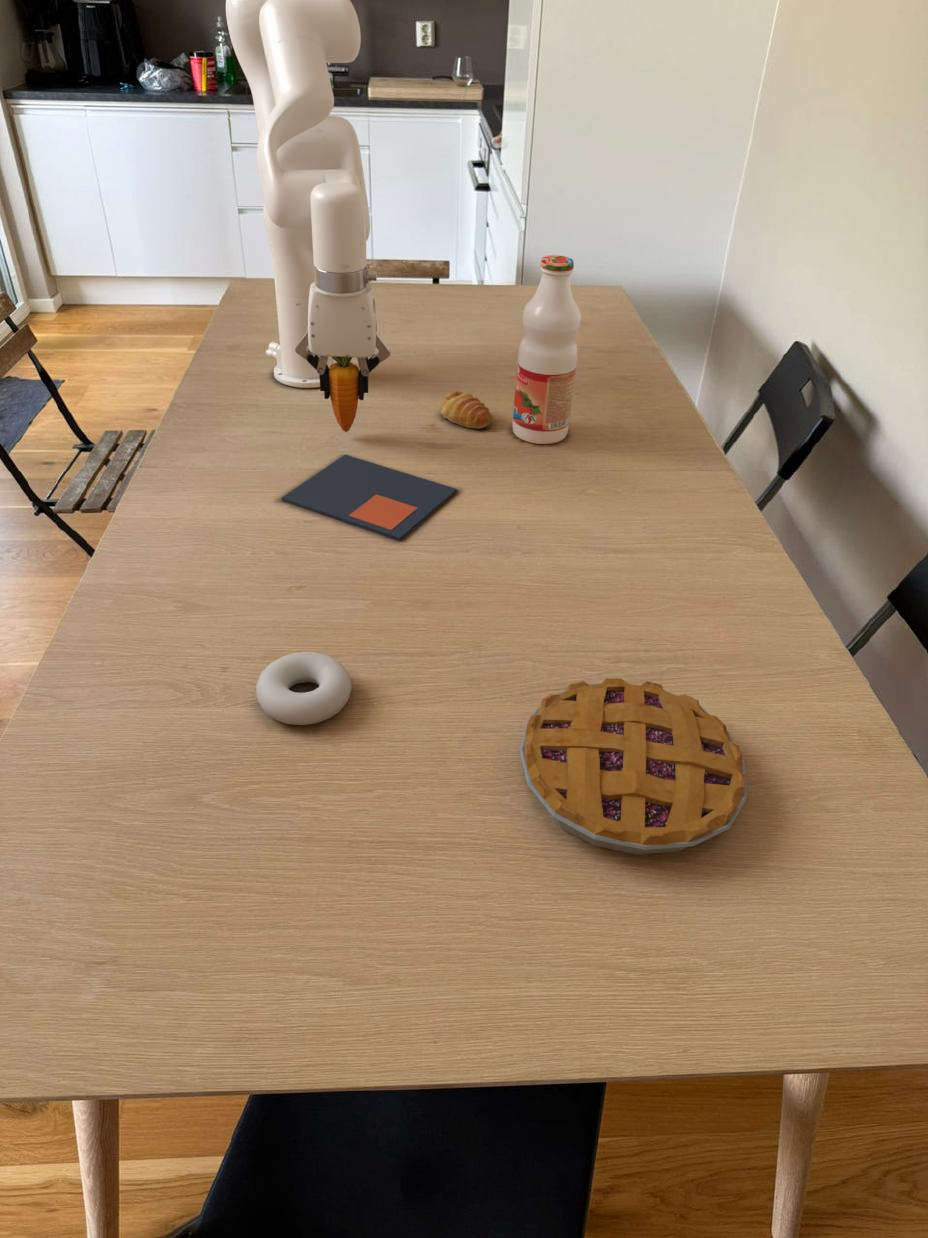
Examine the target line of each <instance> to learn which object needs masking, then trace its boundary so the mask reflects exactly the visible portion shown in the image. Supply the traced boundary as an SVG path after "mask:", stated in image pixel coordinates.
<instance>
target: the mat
mask: <svg viewBox="0 0 928 1238" xmlns="http://www.w3.org/2000/svg"><path fill="white" fill-rule="evenodd" d="M457 492H458V489H457V488H456V487H452V486H448V485H445V484H442V483H439V482H435V481H432V480H429V479H427V478H426V479H425V478H423V477H419V476H416V475H413V474H410V473H407V472H404V471H401V470H397V469H393V468H390V467H387V466H384V465H381V464H377V463H374V462H371V461H368V460H365V459H361V458H357V457H355V456H351V455H348V454H344V455H342V456H340V457H339V458H337V459H336V460H334V461H333V462H332V463H331V464H329V465H328V466H326V467H325V468H323V469H321V470H320V471H319V472H317V473H315V474H314V475H313V476H311V477H310V478H308V479H307V480H306V481H304V482H303V483H301V484H300V485H298V486H296V487H295V488H293V489H292V490H290V491H289V492H288V493H286V494H285V495H283V496H281V498H280V499H281V501H282V502H285V503H288V504H291V505H293V506H296V507H300V508H303V509H306V510H308V511H310V512H311V511H312V512H314V513H317V514H321V515H323V516H326V517H329V518H332V519H335V520H338V521H341V522H344V523H346V524H349V525H352V526H356V527H359V528H361V529H364V530H368V531H370V532H373V533H376V534H379V535H381V536H384V537H388V538H391V539H392V540H393V539H394V540H396V541H399V542H400V541H402V539H404V538H406V536H407V535H408V534H409V533H411V532H412V531H413V530H414V529H416V528H417V527H418V526H419V525H421V523H422V522H423V521H425V520H426V519H427V518H428V517H429V516H431V514H433V513H434V512H435V511H436V510H438V509H439V508H440V507H441V506H442V505H444V503H446V502H447V501H448V500H449V499H450V498H452V497H453V496H454V495H455V494H456V493H457Z"/></svg>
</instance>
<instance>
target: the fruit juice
mask: <svg viewBox="0 0 928 1238" xmlns="http://www.w3.org/2000/svg"><path fill="white" fill-rule="evenodd" d="M539 267H540V271H541V278H540V280H539V285H538V287H537V289H536V292H535V294H534V295H533V297H531V299H530V300H529V301H528V302H527V303H526V304H525V306H524V308H523V312H522V315H521V325H522V326H521V327H522V331H523V335H522V339H521V341H520V343H519V348H518V353H517V361H516V363H517V364H516V374H515V375H516V376H515V386H514V387H515V388H514V396H513V397H514V399H513V411H512V421H511V422H512V423H511V425H512V432H513V434H514V436H516V437H517V438H519V439H520V440H522V441H524V442H527V443H530V444H531V443H532V444H537V445H551V444H556V443H559V442H561V441H563V440H564V439H566V437H567V435H568V431H569V428H570V419H571V411H572V403H573V396H574V388H575V381H576V380H575V378H576V372H577V364H578V344H577V342H576V340H577V336H578V333H579V331H580V328H581V324H582V314H581V310H580V308H579V306H578V304H577V302H576V301H575V300H574V297H573V293H572V288H571V287H572V286H571V274H573V272H574V268H575V262H574V259H573V258H571V257H569V256H565V255H557V254H553V255H552V254H551V255H545V256H542V258H541V260H540V266H539Z"/></svg>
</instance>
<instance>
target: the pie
mask: <svg viewBox="0 0 928 1238" xmlns="http://www.w3.org/2000/svg"><path fill="white" fill-rule="evenodd" d="M519 755H520V758H521V764H522V768H523V771H524V775H525V779H526V784H527V786H528V787H529V788H530V790H531V791H532V792H533V794H534V795H535V796H536V797H537V799H538V800H539V801H540V803H541V804H542V805H543V807H544V808H545V809H546V810H547V811H548V812H549V814H550V815H551V817H552V818H553V819H554V821H555V822H556V823H557V824H558V826H559V827H560V829H561V830H563V831H565V832H567V833H569V834H571V835H572V836H574V837H576V838H578V839H580V840H582V841H584V842H586V843H588V844H590V845H592V846H594V847H598V848H602V849H608V850H612V851H618V852H622V853H627V854H631V855H637V856H638V855H641V856H642V855H653V854H663V853H664V854H665V853H675V852H676V853H677V852H681V851H683V850H685V849H687V848H690V847H694V846H696V845H699V844H700V843H703V842H705V841H707V840H709V839H711V838H713V837H715V836H717V835H719V834H721V833H723V832H726V831H728V830H730V829H731V827H732V825H733V823H734V822H735V820H736V819H737V817H738V815H739V814H740V811H741V810H742V808H743V806H744V805H745V803H746V801H747V775H746V764H745V762H744V760H743V754H742V751H741V748H740V745H739V744H736V743H735V742H734V740H733V737H732V736H731V734H730V732H729V731H728V729H727V726H726V724H725V723H724V722H723V721H722V720H721V719H720V718H719V717H718V716H716V715H712V714H710V713H709V712H708V711H707V710H705V708H703V707H702V706H701V705H700V702H699V700H698V699H696V698H694V697H692V696H690V695H688V694H685V693H683V694H679V695H676V694H675V693H672V692H670V691H668V690H665V689H664V687H663V685H662V684H661V683H656V682H652V681H645V682H643V683H642V684H640V685H639V684H633V683H629V682H627V681H625V680H624V679H622V678H605V679H604V680H603V681H602V682H601V683H600V682H599V683H587V682H586V681H585V680H582V681H578V682H573V683H569V685H568V687H567V688H566V689H565V690H563V691H560V692H558V693H555V694H554V693H553V694H552V693H550V694H549V695H547V696H546V697H543V698H542V699H541V702H540V705H539V707H538V708H537V709H536V710H534V712H533V713H532V714H531V715H530V716H529V717H528V718H527V719H526V723H525V727H524V731H523V735H522V738H521V743H520V747H519Z"/></svg>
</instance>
